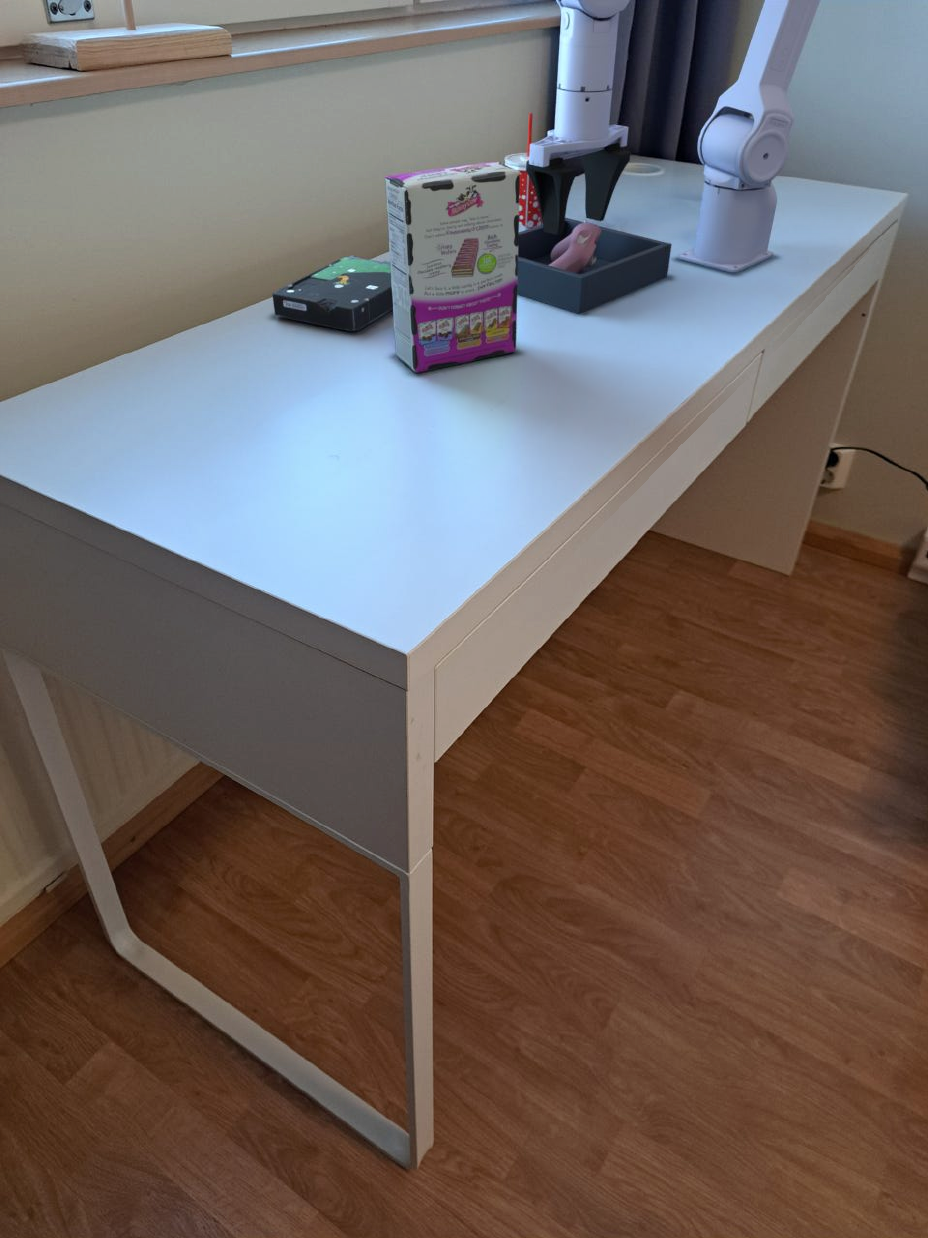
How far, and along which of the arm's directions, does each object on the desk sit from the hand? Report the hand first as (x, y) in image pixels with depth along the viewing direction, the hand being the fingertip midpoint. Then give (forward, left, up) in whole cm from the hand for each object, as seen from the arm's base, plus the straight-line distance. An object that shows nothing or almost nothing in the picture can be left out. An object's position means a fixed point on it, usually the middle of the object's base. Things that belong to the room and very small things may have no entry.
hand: (574, 225), depth 103 cm
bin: (0, 0, -6) cm, 6 cm away
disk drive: (+23, -12, -6) cm, 27 cm away
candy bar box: (+25, +6, -6) cm, 27 cm away
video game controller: (0, 0, -6) cm, 6 cm away
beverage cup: (-11, -16, -6) cm, 20 cm away
